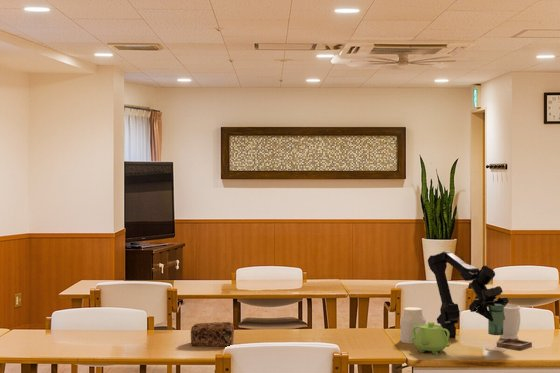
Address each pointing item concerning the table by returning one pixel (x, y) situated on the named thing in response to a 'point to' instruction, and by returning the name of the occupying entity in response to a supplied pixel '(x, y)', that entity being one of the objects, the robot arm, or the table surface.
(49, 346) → the table surface
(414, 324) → the jar
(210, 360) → the table surface
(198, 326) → the bread
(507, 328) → the jar
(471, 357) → the table surface
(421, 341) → the teapot
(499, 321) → the tea canister
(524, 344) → the walnut tray
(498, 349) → the cork coaster
